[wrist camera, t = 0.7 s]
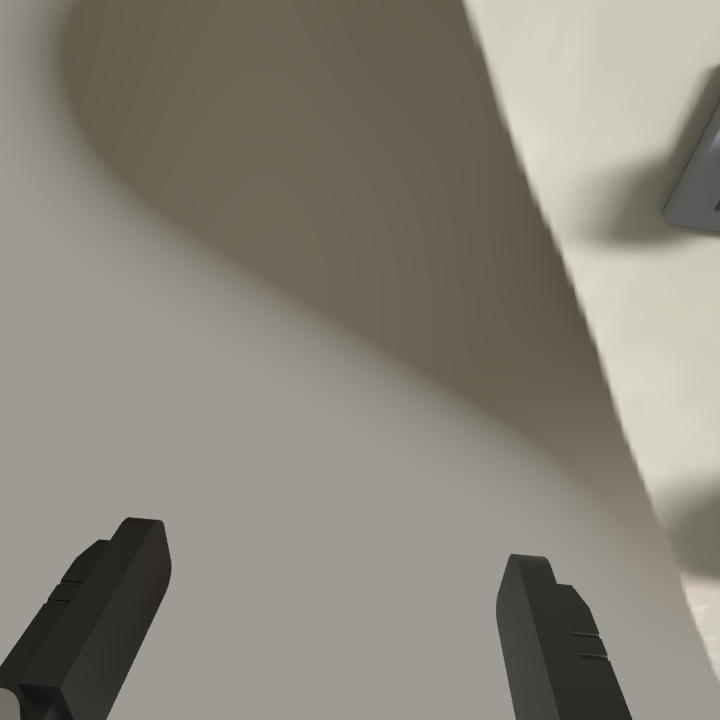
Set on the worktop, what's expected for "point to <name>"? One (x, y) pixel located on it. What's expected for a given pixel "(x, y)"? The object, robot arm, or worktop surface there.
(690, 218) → the grey panel with cutout
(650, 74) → the worktop surface
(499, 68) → the worktop surface
